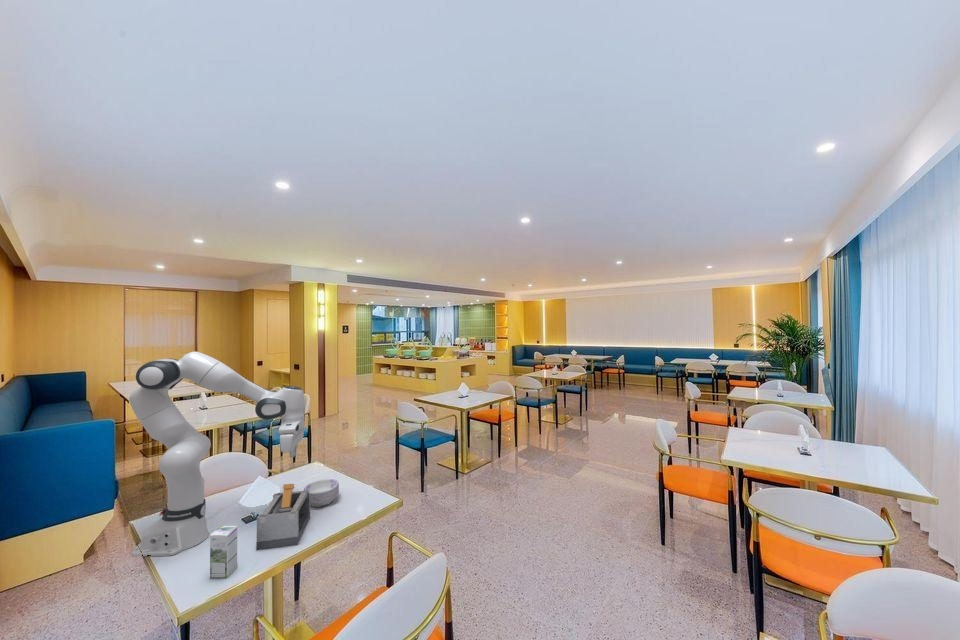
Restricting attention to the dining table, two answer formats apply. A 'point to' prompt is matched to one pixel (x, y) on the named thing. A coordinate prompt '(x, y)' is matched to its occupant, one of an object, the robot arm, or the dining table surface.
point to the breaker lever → (286, 498)
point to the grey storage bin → (283, 522)
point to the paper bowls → (322, 491)
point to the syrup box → (223, 551)
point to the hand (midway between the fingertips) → (292, 456)
